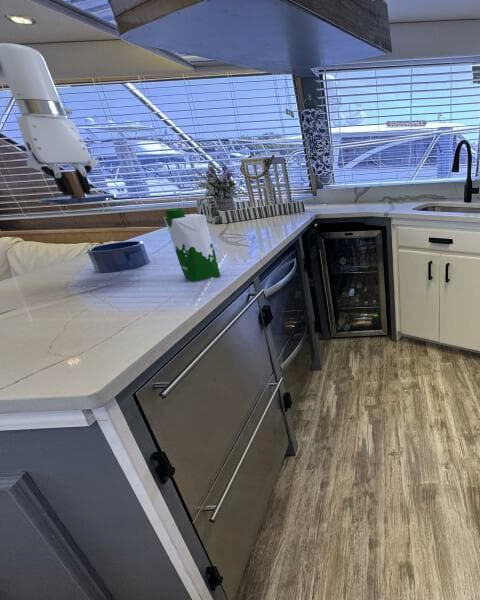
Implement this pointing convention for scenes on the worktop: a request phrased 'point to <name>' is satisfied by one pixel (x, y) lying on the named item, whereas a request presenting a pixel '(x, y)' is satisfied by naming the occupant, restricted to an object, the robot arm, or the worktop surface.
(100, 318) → the worktop surface
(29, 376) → the worktop surface
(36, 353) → the worktop surface
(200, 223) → the milk carton
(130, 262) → the pot
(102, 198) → the plate lid
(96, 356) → the worktop surface
